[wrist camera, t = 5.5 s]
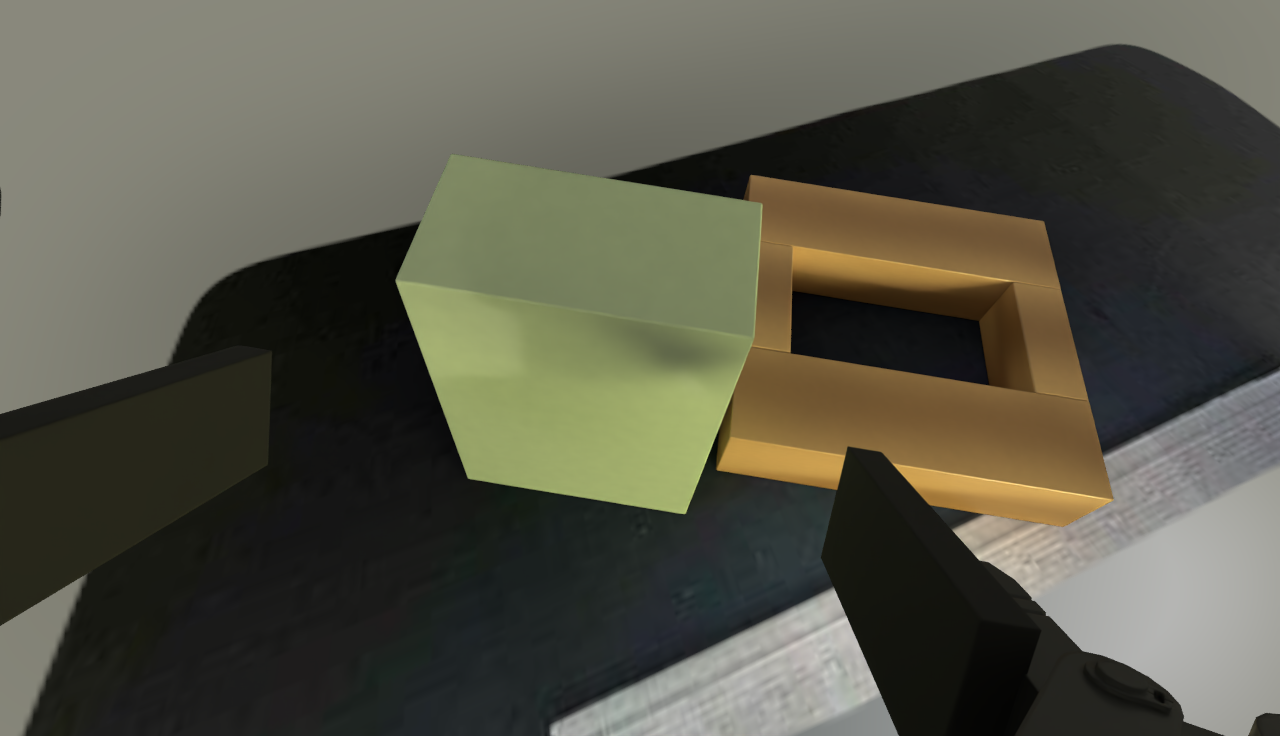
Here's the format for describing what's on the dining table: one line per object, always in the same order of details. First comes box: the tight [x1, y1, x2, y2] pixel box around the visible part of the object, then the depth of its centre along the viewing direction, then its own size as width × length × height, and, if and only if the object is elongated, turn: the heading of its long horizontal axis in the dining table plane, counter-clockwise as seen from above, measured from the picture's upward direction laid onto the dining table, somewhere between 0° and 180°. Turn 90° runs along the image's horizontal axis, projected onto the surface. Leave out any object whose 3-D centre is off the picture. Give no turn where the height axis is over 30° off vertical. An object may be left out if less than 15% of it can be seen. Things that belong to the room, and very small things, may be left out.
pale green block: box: [396, 154, 763, 514], centre depth 22 cm, size 4×8×12 cm, turn 82°
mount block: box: [716, 175, 1113, 527], centre depth 29 cm, size 14×14×3 cm
